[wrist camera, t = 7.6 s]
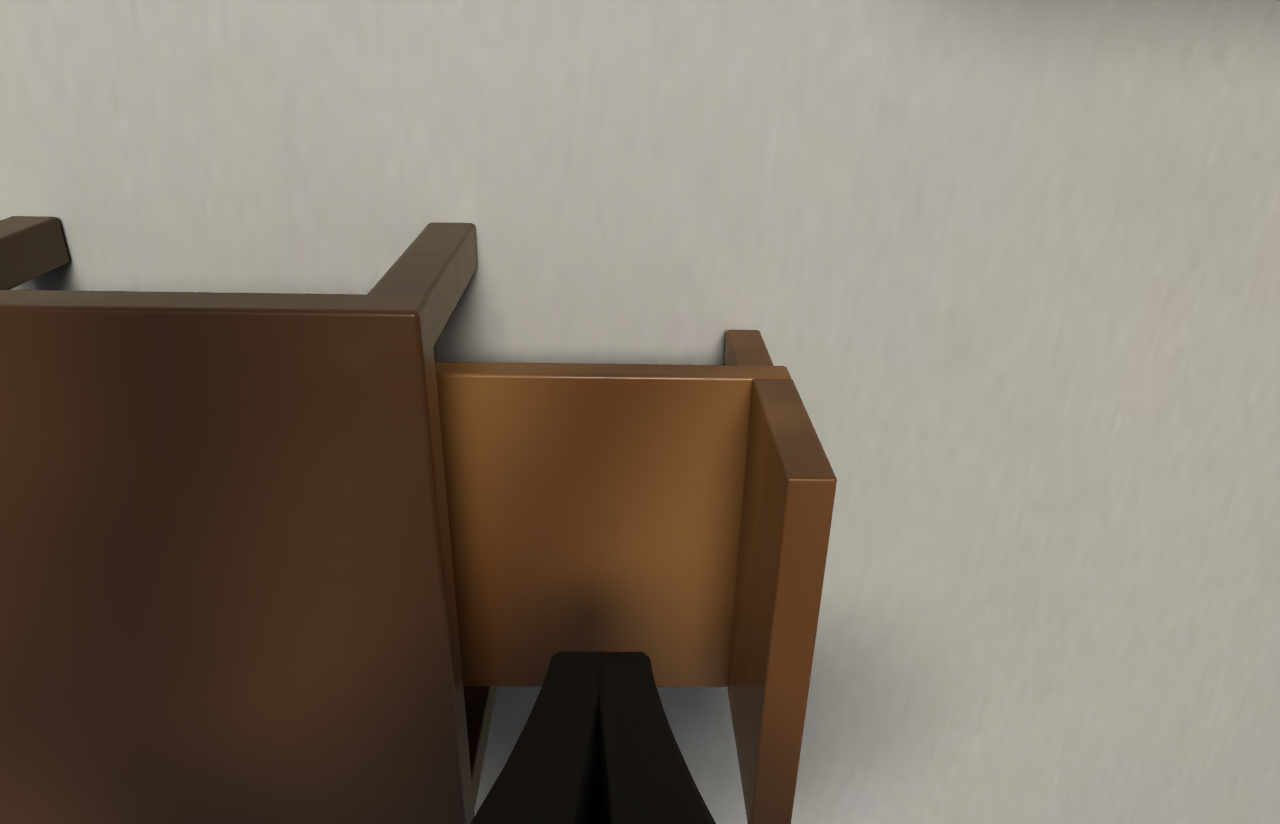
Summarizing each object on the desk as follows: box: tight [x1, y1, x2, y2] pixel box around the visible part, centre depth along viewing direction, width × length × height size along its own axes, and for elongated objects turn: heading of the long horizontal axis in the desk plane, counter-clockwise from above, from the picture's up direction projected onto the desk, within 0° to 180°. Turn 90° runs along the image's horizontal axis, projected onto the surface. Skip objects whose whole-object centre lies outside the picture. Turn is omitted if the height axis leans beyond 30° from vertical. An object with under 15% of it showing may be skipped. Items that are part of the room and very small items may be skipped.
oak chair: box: [435, 330, 837, 824], centre depth 16 cm, size 8×7×6 cm
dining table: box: [0, 216, 497, 824], centre depth 16 cm, size 9×11×6 cm
